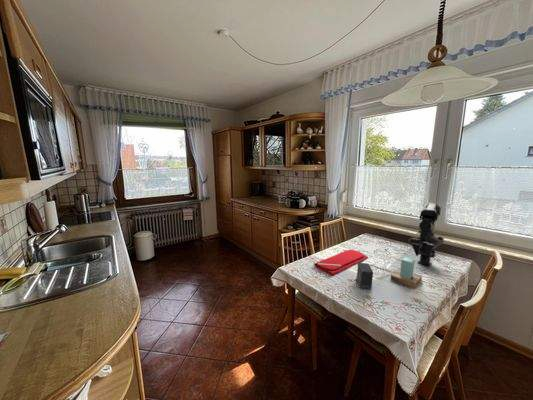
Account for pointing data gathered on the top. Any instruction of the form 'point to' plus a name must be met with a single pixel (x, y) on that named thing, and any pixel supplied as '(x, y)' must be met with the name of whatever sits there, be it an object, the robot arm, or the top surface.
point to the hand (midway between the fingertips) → (422, 255)
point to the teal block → (407, 267)
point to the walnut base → (406, 279)
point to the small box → (364, 276)
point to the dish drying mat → (340, 262)
